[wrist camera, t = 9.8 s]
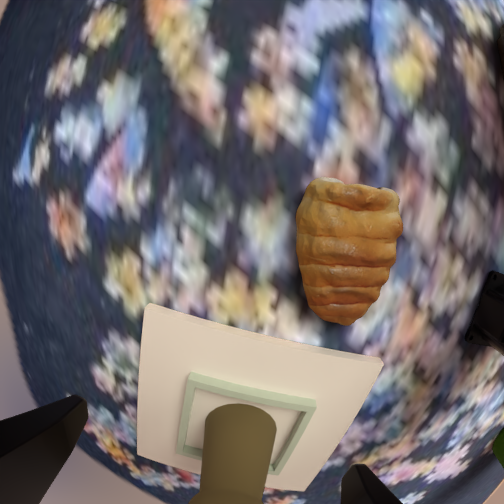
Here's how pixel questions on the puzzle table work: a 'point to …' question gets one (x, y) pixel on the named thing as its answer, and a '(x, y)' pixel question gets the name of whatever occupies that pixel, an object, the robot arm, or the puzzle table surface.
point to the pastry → (345, 246)
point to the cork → (235, 455)
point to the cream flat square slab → (244, 392)
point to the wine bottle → (499, 447)
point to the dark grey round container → (501, 47)
